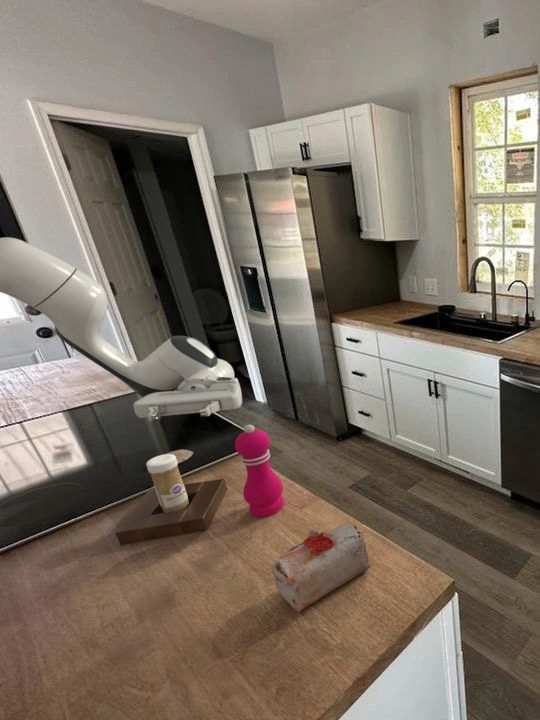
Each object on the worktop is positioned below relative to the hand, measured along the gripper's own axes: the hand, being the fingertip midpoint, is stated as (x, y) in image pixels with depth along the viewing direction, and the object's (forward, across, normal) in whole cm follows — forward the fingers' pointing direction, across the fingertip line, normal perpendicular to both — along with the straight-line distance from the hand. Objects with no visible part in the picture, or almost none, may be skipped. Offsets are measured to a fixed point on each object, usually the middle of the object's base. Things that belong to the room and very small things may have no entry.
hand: (178, 415), depth 90 cm
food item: (+40, +31, +17) cm, 53 cm away
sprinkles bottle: (+12, 0, +18) cm, 21 cm away
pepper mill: (+15, +17, +17) cm, 29 cm away
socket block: (+12, 0, +17) cm, 21 cm away
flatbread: (-13, -9, +17) cm, 23 cm away
